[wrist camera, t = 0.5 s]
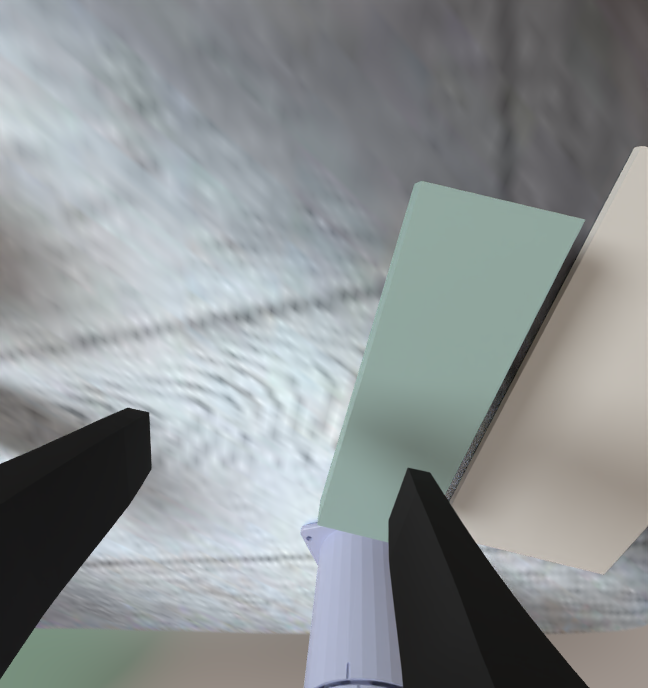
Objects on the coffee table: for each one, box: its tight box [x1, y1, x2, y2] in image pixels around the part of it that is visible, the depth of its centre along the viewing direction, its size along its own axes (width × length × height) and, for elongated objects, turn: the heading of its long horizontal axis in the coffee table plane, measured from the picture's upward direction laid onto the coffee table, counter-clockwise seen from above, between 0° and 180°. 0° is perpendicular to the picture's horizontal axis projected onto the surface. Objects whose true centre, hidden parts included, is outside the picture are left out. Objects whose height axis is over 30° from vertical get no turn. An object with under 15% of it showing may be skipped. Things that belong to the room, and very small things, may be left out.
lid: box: [317, 181, 585, 542], centre depth 15 cm, size 17×6×2 cm, turn 168°
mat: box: [449, 146, 648, 575], centre depth 18 cm, size 24×12×1 cm, turn 168°
